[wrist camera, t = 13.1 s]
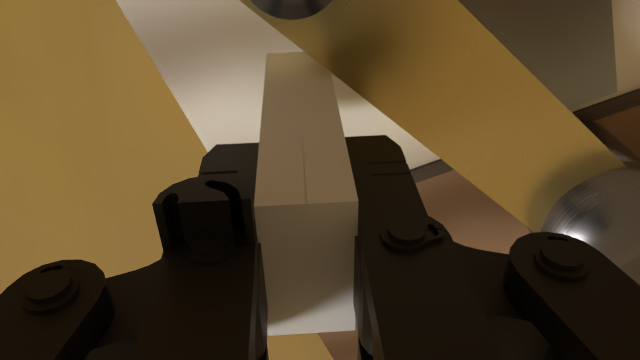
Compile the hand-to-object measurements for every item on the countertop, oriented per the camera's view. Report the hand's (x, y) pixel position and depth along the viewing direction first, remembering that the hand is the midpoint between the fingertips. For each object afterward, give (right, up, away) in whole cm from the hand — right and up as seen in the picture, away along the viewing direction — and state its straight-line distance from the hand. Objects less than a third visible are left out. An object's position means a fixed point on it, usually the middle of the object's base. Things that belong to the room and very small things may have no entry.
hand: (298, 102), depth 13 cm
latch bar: (+4, +1, +1) cm, 5 cm away
